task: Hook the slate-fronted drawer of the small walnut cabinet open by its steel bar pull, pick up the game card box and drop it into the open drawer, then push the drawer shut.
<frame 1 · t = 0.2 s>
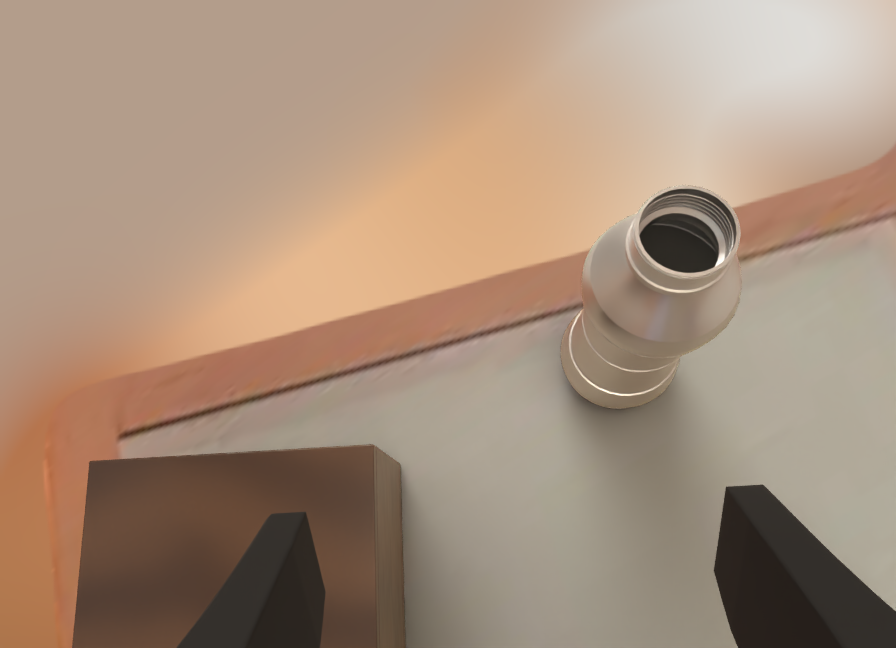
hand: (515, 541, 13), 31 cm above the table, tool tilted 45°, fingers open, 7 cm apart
cabinet: (281, 595, 43), on the table
silver metal bottle: (613, 364, 45), on the table
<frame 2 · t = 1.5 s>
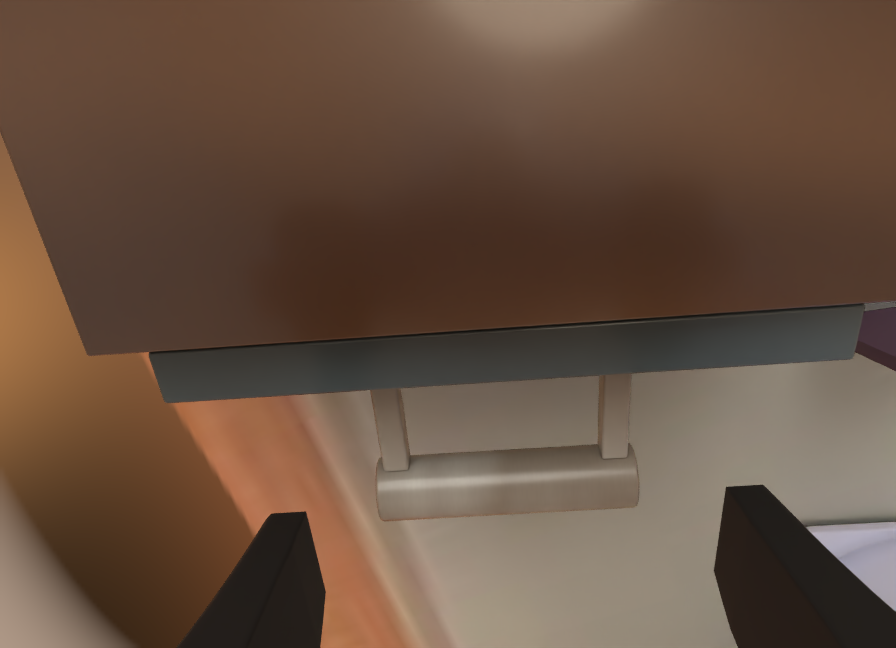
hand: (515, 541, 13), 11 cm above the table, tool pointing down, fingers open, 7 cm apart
drawer: (481, 107, 15), point 4 cm above the table, slide at 0.5 cm
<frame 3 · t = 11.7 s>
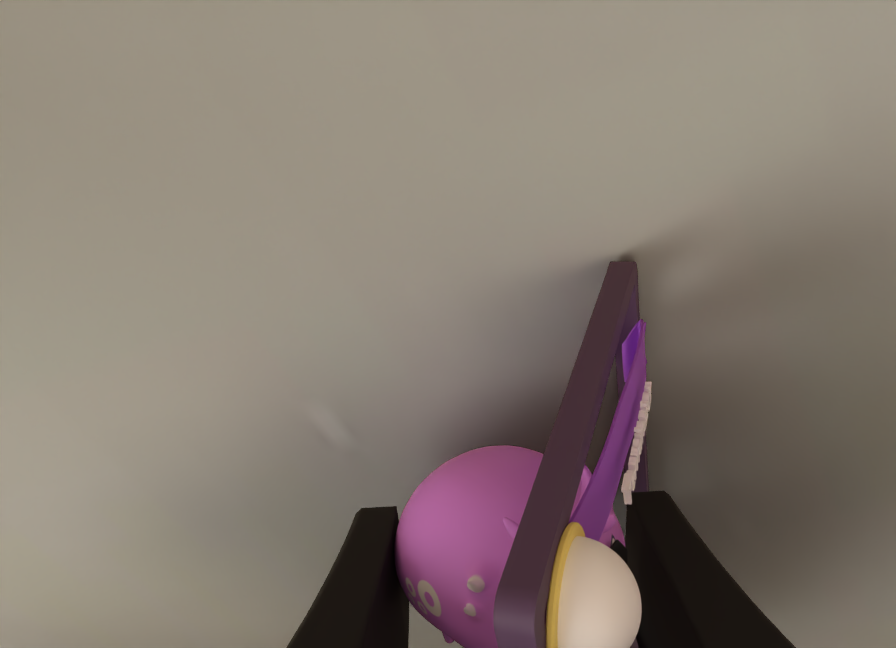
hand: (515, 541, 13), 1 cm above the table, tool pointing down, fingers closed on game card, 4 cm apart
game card: (520, 476, 14), on the table, touching gripper
when the fingers open (6 cm above the table, at t = 16.2 s): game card drops 3 cm, resting on drawer.
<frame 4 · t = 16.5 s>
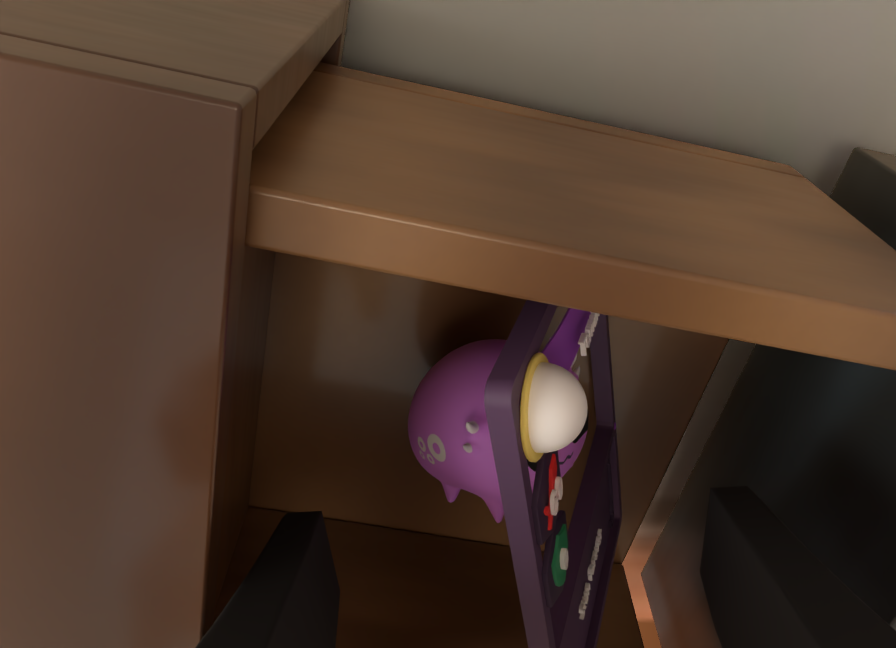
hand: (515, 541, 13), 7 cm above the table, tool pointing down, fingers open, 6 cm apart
cabinet: (6, 245, 18), on the table
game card: (509, 381, 17), point 2 cm above the table, touching drawer
drawer: (643, 475, 15), point 5 cm above the table, slide at 10.8 cm, touching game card
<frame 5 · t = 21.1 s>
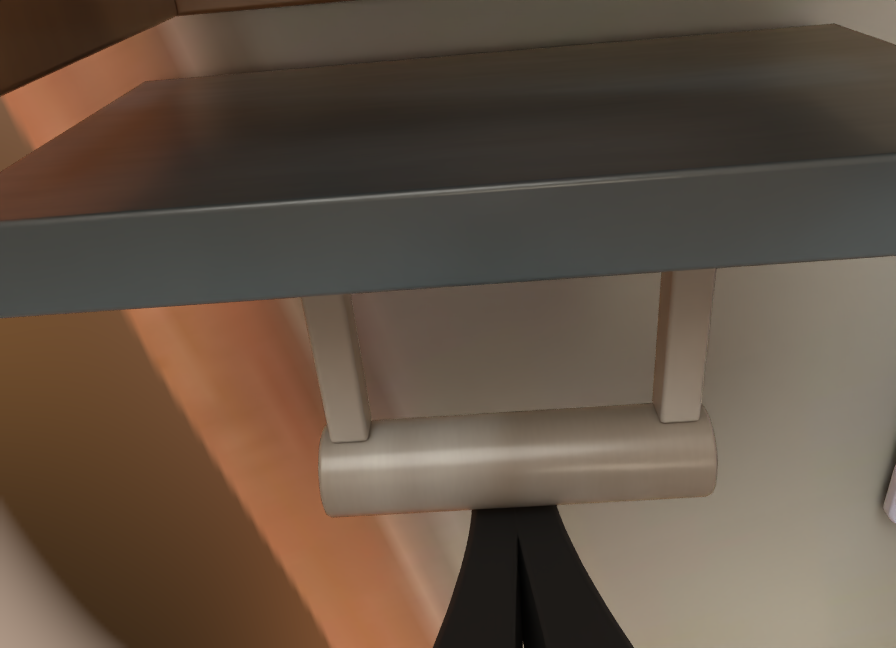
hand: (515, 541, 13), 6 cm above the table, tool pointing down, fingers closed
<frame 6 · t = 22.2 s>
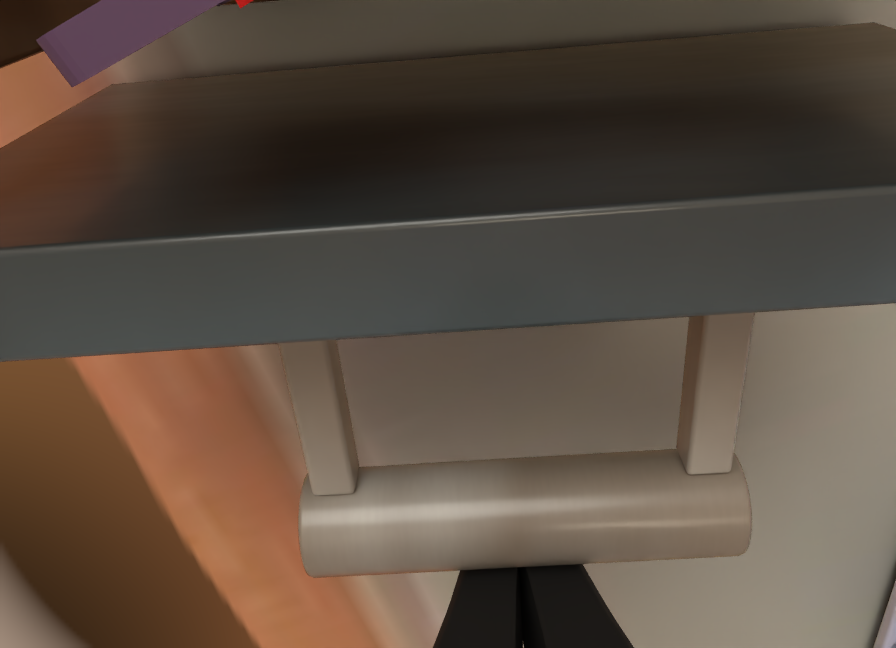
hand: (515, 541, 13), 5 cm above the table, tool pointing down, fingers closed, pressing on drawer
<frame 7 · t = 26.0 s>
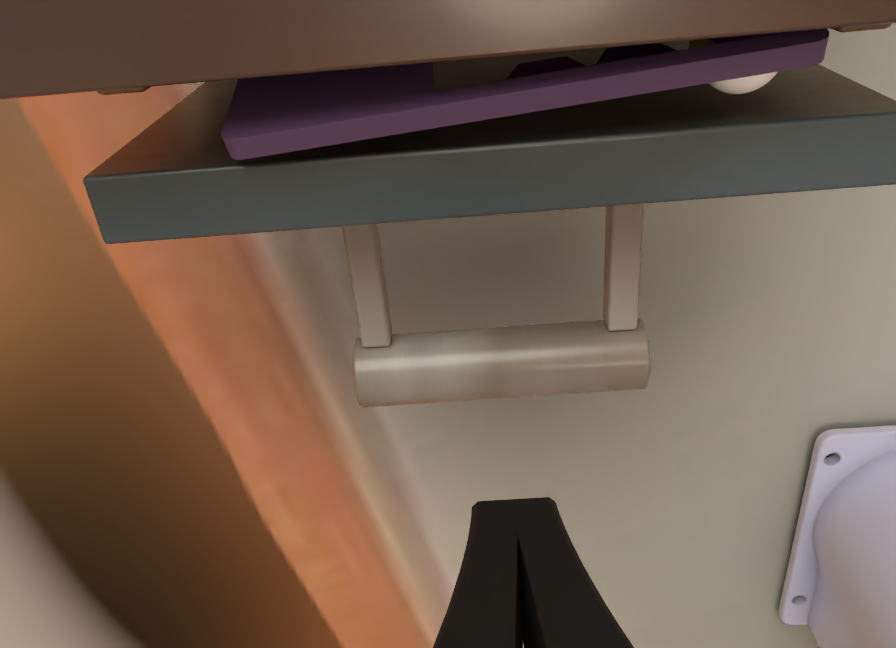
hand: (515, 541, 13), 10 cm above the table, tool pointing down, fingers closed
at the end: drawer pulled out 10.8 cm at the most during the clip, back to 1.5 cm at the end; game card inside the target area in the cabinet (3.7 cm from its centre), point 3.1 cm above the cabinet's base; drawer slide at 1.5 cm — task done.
